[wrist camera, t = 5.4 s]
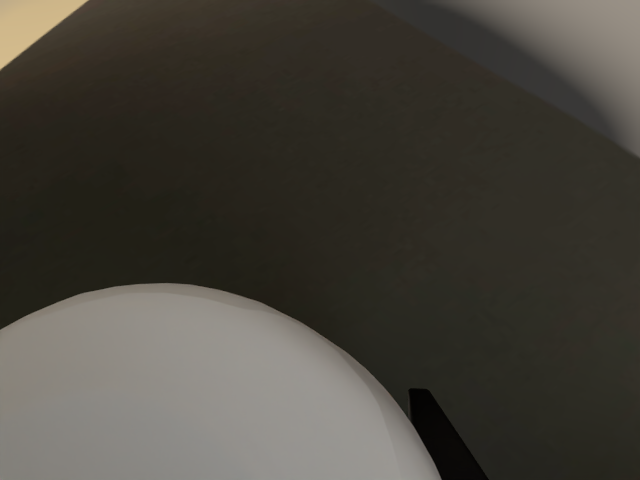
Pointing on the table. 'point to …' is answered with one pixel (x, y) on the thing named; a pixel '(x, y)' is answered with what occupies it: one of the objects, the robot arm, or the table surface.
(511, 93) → the table surface
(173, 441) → the spice jar
